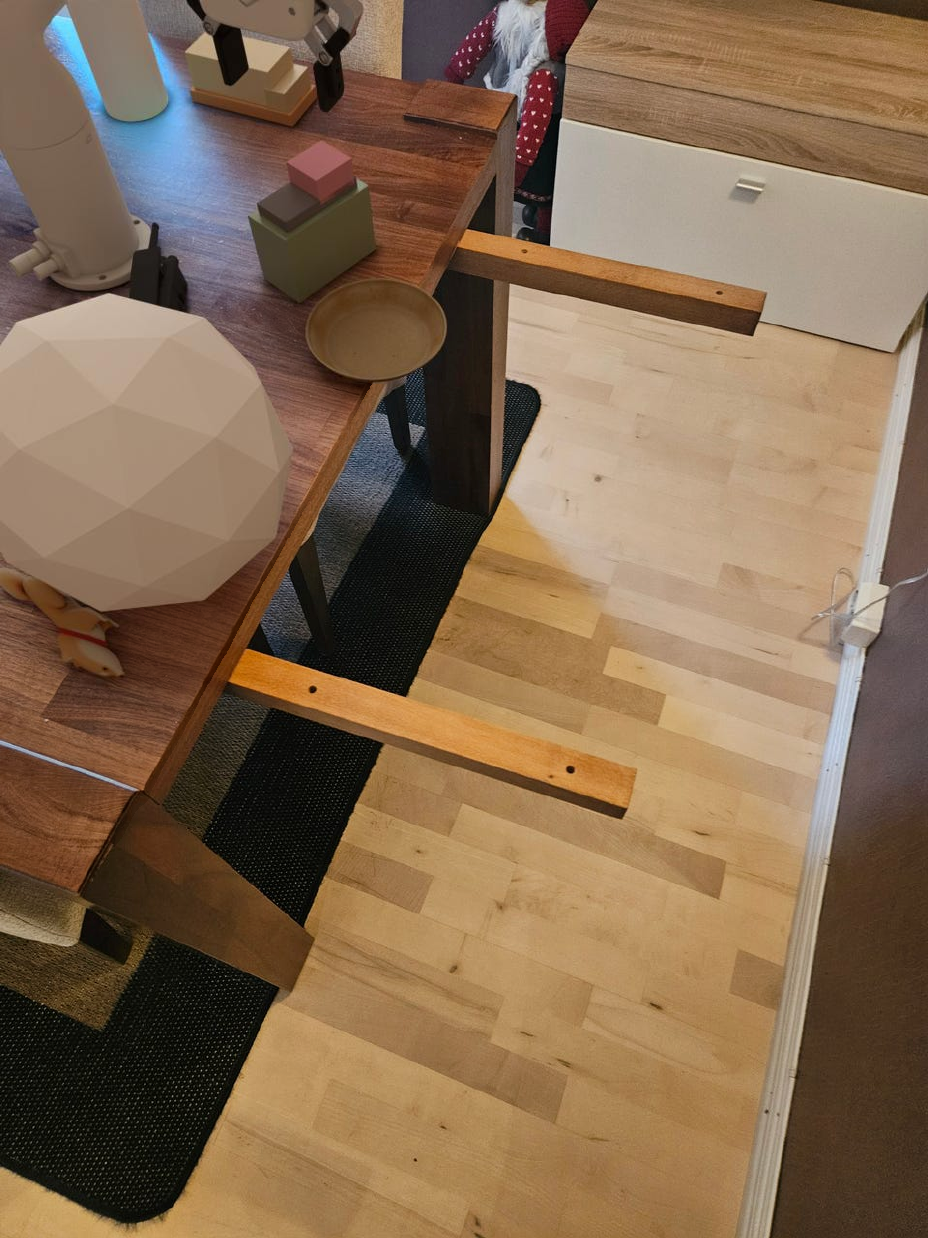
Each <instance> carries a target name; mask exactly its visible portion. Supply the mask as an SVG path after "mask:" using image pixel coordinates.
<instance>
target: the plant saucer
mask: <svg viewBox="0 0 928 1238" xmlns="http://www.w3.org/2000/svg"><path fill="white" fill-rule="evenodd" d="M447 329H448V324H447V318H446V315H445V312H444V310H443V308H442V306H441V305H440V303H439V302H438V301H437V300H436V299H435V298H434V297H433V296H432V295H431V294H430V293H428V292H427V291H426V290H424V289H423V288H421V287H418V286H416V285H415V284H412V283H410V282H407V281H403V280H398V279H392V278H378V277H377V278H366V279H365V278H364V279H362V280H361V279H359V280H356V281H352V282H349V283H346V284H344V285H341V286H339V287H337V288H335V289H334V290H331V291H330V292H328V293H327V294H325V296H323V297H322V298H321V299H320V300H319V301H318V302H317V303H316V304H315V305H314V307H313V308H312V310H311V311H310V313H309V315H308V318H307V320H306V324H305V339H306V343H307V346H308V348H309V350H310V352H311V353H312V355H313V356H314V357H315V358H316V360H318V362H320V363H321V364H322V365H323V366H324V367H325V368H327V369H329V370H330V371H332V372H334V373H336V374H338V375H339V376H342V377H344V378H347V379H350V380H354V381H357V382H364V383H384V382H391V381H395V380H399V379H401V378H402V379H403V378H405V377H407V376H409V375H411V374H413V373H415V372H417V371H419V370H420V369H422V368H423V367H424V366H425V365H427V364H428V363H429V362H430V361H431V360H432V359H433V358H434V357H435V356H436V355H437V354H438V353H439V351H440V350H441V348H442V347H443V345H444V342H445V339H446V336H447Z"/></svg>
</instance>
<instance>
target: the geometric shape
mask: <svg viewBox="0 0 928 1238" xmlns="http://www.w3.org/2000/svg"><path fill="white" fill-rule="evenodd" d="M91 298H92V299H89V300H86V299H85V300H82V301H79V302H77V303H73V304H70V305H66V306H63V307H61V308H60V307H59V308H57V309H54V310H51V311H48V312H44V313H41V314H38V315H35V316H32V317H28V318H24V319H22V320H19V321H16V322H15V323H14V325H13V326H12V327H11V329H10V330H9V332H8V333H7V335H6V337H5V338H4V339H3V341H2V342H1V344H0V553H1V555H2V557H3V558H4V560H5V562H6V564H9V565H11V566H12V567H15V568H16V569H18V570H20V571H22V572H24V573H26V574H27V575H29V576H31V577H36V578H37V579H39V580H41V581H43V582H45V583H47V584H49V585H51V586H53V587H55V588H57V589H59V590H60V591H62V592H64V593H66V594H68V595H70V596H72V597H74V598H76V599H78V600H80V601H82V602H84V603H85V604H87V605H86V606H88V607H90V608H92V609H94V610H96V611H98V612H108V611H109V612H110V611H119V610H128V609H137V608H147V607H155V606H165V605H173V604H174V605H175V604H181V603H183V604H184V603H192V602H201V601H205V600H206V599H208V597H210V596H211V595H212V594H213V593H214V592H215V591H217V590H218V589H219V588H220V587H221V586H222V585H224V584H225V583H226V582H227V581H228V580H230V578H232V577H233V576H234V575H235V574H236V573H237V572H238V571H240V570H241V569H242V568H243V567H244V566H245V565H247V563H248V562H250V561H251V560H252V559H253V558H255V556H257V555H258V554H259V553H261V551H263V550H264V549H265V548H266V547H267V546H268V545H270V543H271V542H273V541H274V540H275V539H276V538H277V533H278V529H279V525H280V519H281V514H282V509H283V504H284V499H285V495H286V494H285V493H286V489H287V484H288V479H289V474H290V469H291V464H292V459H293V454H294V447H293V445H292V443H291V441H290V439H289V437H288V435H287V433H286V431H285V428H284V427H283V424H282V422H281V421H280V418H279V416H278V414H277V412H276V410H275V407H274V406H273V403H272V401H271V400H270V397H269V395H268V393H267V391H266V389H265V387H264V385H263V383H262V381H261V379H260V377H259V374H258V372H257V370H256V368H255V366H254V365H253V364H252V363H251V362H250V361H249V360H248V359H247V358H246V357H245V356H244V355H243V354H242V353H241V352H240V351H239V350H238V349H237V348H236V346H235V347H234V345H233V344H232V343H231V342H229V340H228V339H227V338H226V337H225V336H224V335H223V334H222V333H221V332H220V331H219V330H218V329H216V327H215V326H214V325H212V324H211V323H210V322H209V321H208V320H207V319H206V317H203V316H199V315H196V314H193V313H192V314H191V313H187V312H185V311H184V312H180V311H176V310H172V309H168V308H164V307H160V306H157V305H153V304H149V303H145V302H141V301H137V300H133V299H129V297H125V296H120V295H118V294H115V293H114V294H113V293H109V292H108V293H105V294H101V295H98V296H94V297H91Z"/></svg>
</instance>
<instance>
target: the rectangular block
mask: <svg viewBox="0 0 928 1238" xmlns="http://www.w3.org/2000/svg"><path fill="white" fill-rule="evenodd" d="M356 179H357V187H356V188H355V189H353V190H352V191H350V192H349V193H347V194H346V195H344V196H343V197H341V198H340V199H338V200H337V201H335V202H334V203H332V204H331V205H329V206H328V207H326V208H325V209H323V210H322V211H320V212H318V213H317V214H315V215H314V216H312V217H311V218H309V219H308V220H306V221H305V222H303V223H302V224H300V225H299V226H297V227H296V228H294V229H293V230H291V231H290V232H286V231H285V230H283V229H282V228H280V227H279V226H277V225H276V224H274V223H273V222H271V221H270V220H268V219H267V218H265V217H264V216H262V215H261V214H259V211H258V208H257V209H255V210H253V211H252V212H251V213H249V214H247V219H248V223H249V227H250V231H251V234H252V235H251V236H252V238H253V241H254V245H255V249H256V254H257V258H258V261H259V264H260V269H261V272H262V277H263V279H264V280H266V281H267V282H268V283H270V284H272V286H274V287H275V288H277V289H278V290H279V291H281V292H282V293H284V294H286V295H287V296H289V297H290V298H291V299H293V300H294V301H296V302H297V303H298V304H300V303H302V302H303V301H305V300H306V299H307V298H309V297H310V296H312V295H313V294H315V293H316V292H318V291H319V290H321V289H322V288H323V287H324V286H326V285H328V284H329V283H330V282H331V281H333V280H334V279H336V278H337V277H339V276H340V275H342V274H343V273H345V272H346V271H347V270H349V269H350V268H351V267H354V265H356V264H357V263H359V262H360V261H362V260H363V259H364V258H366V257H367V256H369V255H370V254H371V253H373V252H374V251H375V250H377V245H376V236H375V227H374V219H373V218H374V217H373V210H372V202H371V194H370V185H368V183H366V182H364V181H363V180H360V179H359V178H357V177H356Z"/></svg>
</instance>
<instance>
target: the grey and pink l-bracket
mask: <svg viewBox="0 0 928 1238" xmlns="http://www.w3.org/2000/svg"><path fill="white" fill-rule="evenodd" d="M286 166H287V172H288V177H289V182H288V183H287V184H284V185H283V186H282V187H280V188H278V189H277V190H275V191H274V192H272V193H270V194H269V195H267V196H266V197H264V198H263V199H261V200H260V201H258V202H257V203H256V206H257V209H258V211H259V214H261V215H262V216H264V217H265V218H267V219H268V220H270V221H271V222H273V223H274V224H276V225H277V226H279V227H280V228H282V229H283V230H285V231H286V232H290V231H291V230H293V229H294V228H296V227H297V226H299V225H300V224H302V223H303V222H305V221H306V220H308V219H309V218H311V217H312V216H314V215H315V214H317V213H318V212H320V211H322V210H323V209H325V208H326V207H328V206H329V205H331V204H332V203H334V202H335V201H337V200H338V199H340V198H341V197H343V196H344V195H346V194H347V193H349V192H350V191H352V190H353V189H355V188H356V187H357V179H358V178H357V176H356V175H355V174H354V166H353V159H352V157H350V156H349V155H347V154H345V152H342V151H340V150H339V149H337V148H335V147H334V146H332V145H331V144H329V143H327V142H326V141H324V140H322V139H321V140H319V141H318V142H316V143H315V144H313V145H311V146H310V147H308V148H307V149H305V150H304V151H302V152H300V153H299V154H297V155H295V156H294V157H291V159H289V160H287V161H286ZM356 178H357V179H356Z"/></svg>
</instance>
